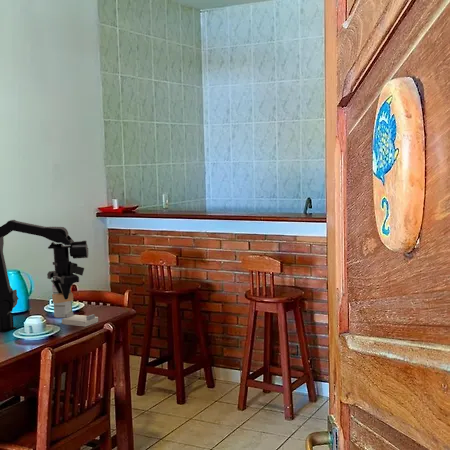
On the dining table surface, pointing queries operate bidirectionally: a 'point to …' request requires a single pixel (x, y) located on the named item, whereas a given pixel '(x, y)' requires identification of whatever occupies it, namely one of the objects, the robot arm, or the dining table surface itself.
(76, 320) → the stand
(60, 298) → the housing
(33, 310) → the dining table surface
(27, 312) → the dining table surface
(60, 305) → the syrup box
